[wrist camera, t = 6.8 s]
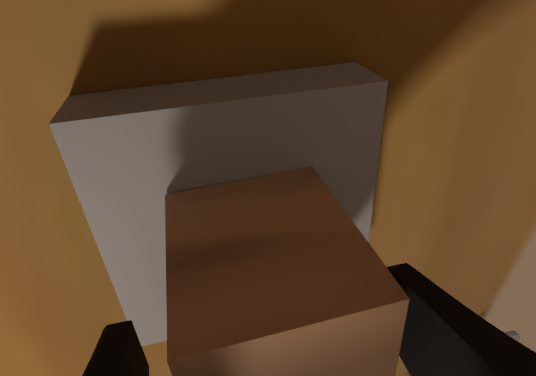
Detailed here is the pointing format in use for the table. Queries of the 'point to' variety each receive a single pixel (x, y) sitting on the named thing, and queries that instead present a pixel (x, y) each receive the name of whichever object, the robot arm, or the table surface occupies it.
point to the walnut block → (276, 283)
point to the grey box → (211, 158)
